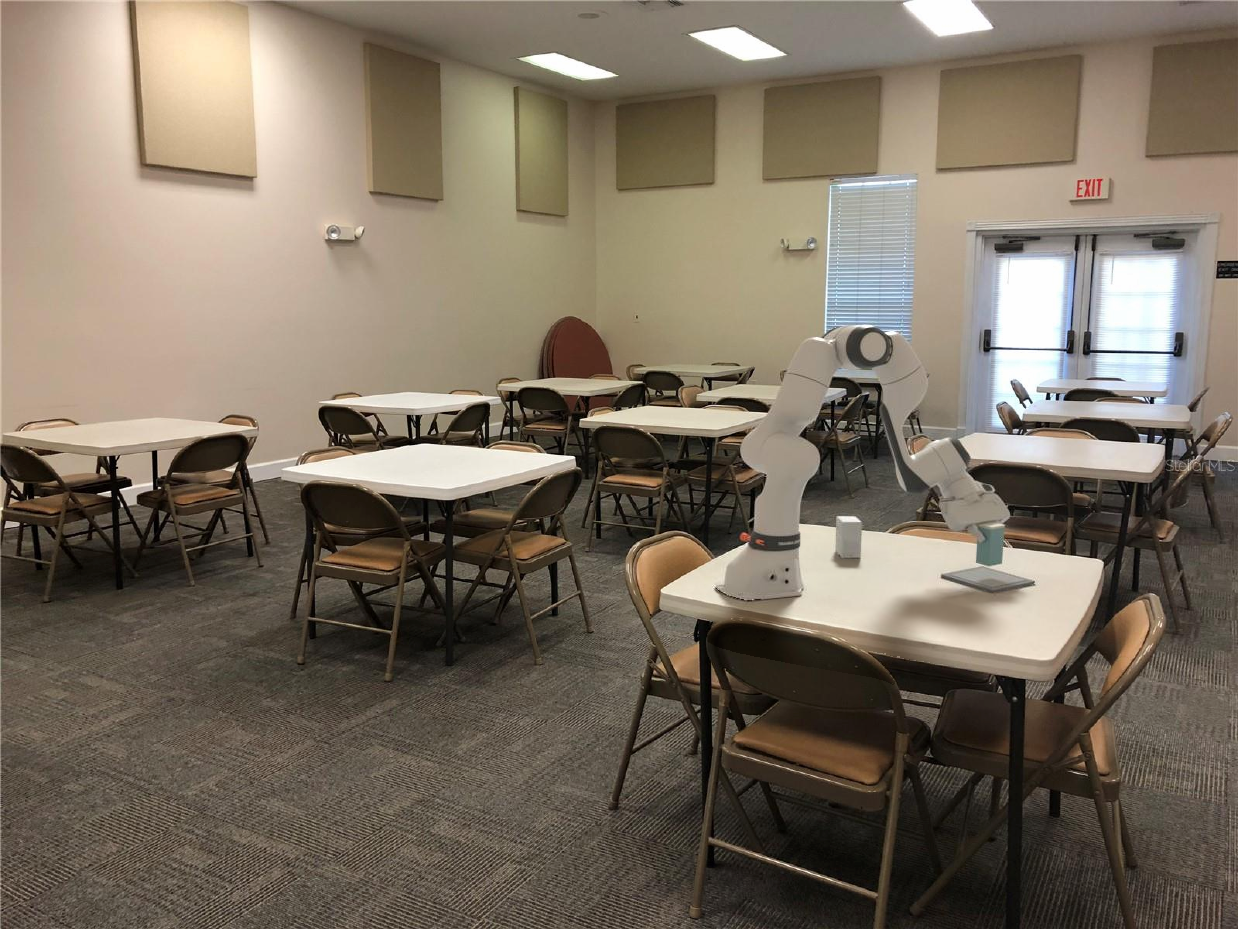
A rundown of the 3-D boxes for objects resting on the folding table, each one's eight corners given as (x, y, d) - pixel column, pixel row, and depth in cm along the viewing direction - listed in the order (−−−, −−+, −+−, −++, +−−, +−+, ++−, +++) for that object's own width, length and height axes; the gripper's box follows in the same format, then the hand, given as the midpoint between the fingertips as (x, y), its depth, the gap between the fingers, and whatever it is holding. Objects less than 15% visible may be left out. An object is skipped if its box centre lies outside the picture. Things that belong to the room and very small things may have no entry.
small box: (860, 558, 253) (862, 522, 251) (841, 558, 253) (842, 522, 251) (854, 551, 261) (855, 515, 259) (834, 551, 261) (836, 515, 259)
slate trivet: (992, 593, 221) (993, 589, 220) (940, 577, 234) (941, 573, 234) (1034, 584, 228) (1035, 580, 228) (982, 569, 242) (982, 565, 242)
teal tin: (988, 566, 228) (991, 527, 226) (975, 562, 231) (977, 524, 230) (1002, 563, 230) (1005, 524, 228) (988, 559, 234) (991, 521, 232)
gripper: (943, 492, 229) (972, 538, 222) (996, 484, 238) (1026, 528, 232) (928, 506, 233) (956, 551, 226) (981, 498, 243) (1010, 541, 236)
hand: (992, 539), depth 229 cm, fingers closed on teal tin, 5 cm apart
